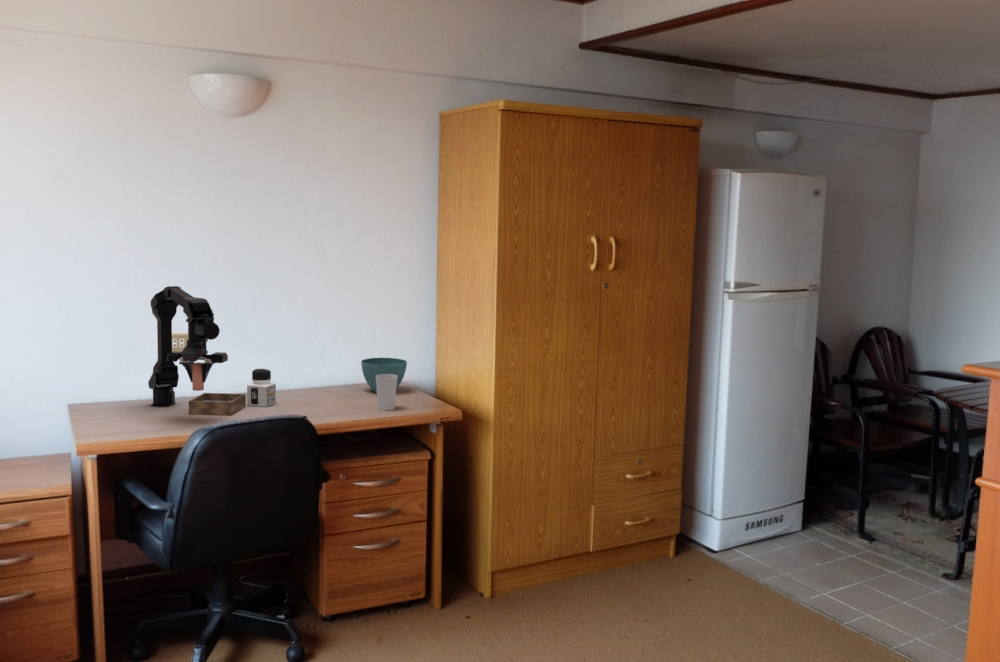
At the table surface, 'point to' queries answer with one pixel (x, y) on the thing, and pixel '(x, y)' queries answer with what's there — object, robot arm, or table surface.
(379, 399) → the cup
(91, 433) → the table surface
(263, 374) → the container
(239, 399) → the box
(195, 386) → the peg
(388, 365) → the teal bowl
